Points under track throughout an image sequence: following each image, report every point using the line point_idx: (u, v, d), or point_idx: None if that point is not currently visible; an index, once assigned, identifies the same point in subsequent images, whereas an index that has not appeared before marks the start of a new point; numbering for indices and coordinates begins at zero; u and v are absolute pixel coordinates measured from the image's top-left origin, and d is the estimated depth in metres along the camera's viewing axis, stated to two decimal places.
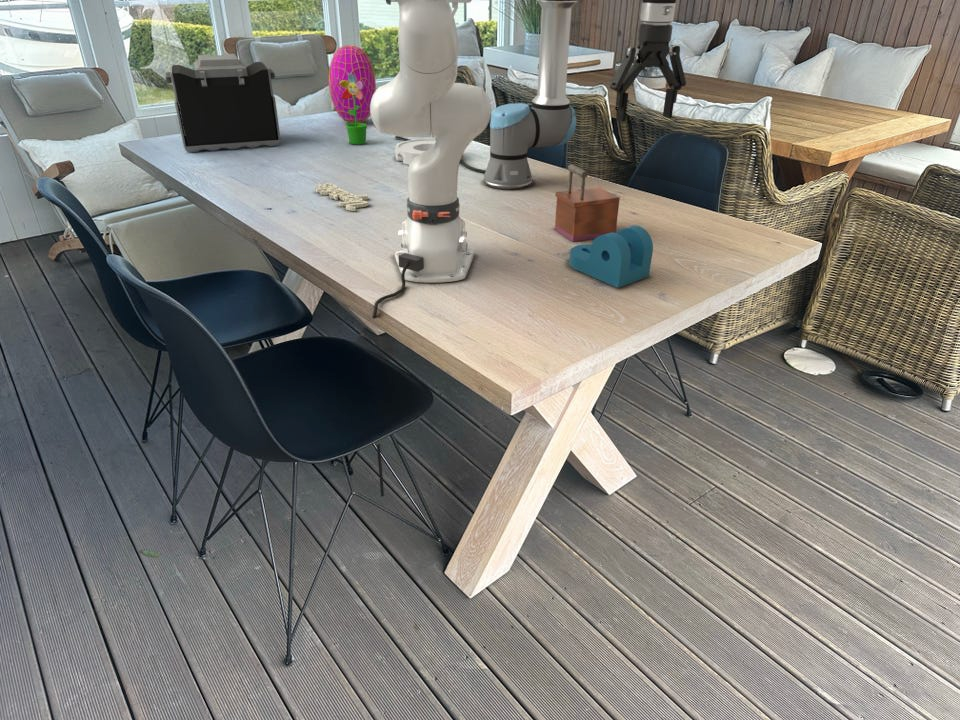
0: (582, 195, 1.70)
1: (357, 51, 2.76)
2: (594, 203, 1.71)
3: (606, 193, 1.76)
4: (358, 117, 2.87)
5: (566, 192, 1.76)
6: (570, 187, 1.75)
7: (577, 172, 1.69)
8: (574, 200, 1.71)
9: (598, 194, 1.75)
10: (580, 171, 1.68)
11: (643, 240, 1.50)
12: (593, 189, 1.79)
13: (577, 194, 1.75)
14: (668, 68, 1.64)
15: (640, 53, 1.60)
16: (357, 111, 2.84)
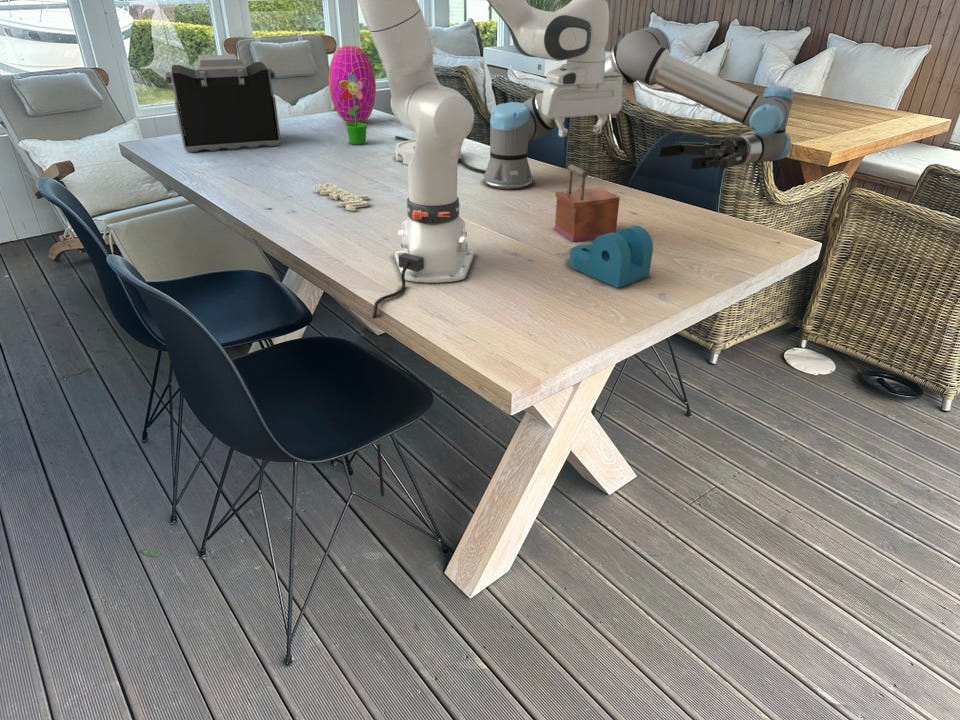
0: (582, 195, 1.70)
1: (357, 51, 2.76)
2: (594, 203, 1.71)
3: (606, 193, 1.76)
4: (358, 117, 2.87)
5: (566, 192, 1.76)
6: (570, 187, 1.75)
7: (577, 172, 1.69)
8: (574, 200, 1.71)
9: (598, 194, 1.75)
10: (580, 171, 1.68)
11: (643, 240, 1.50)
12: (593, 189, 1.79)
13: (577, 194, 1.75)
14: None
15: None
16: (357, 111, 2.84)
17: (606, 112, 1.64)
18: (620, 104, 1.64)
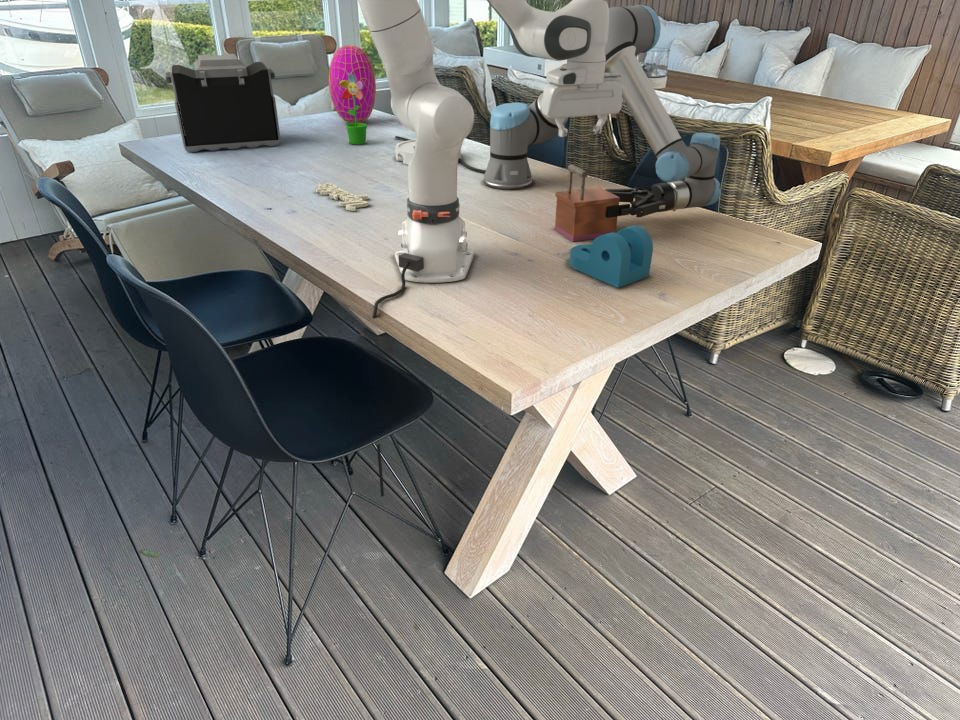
0: (582, 195, 1.70)
1: (357, 51, 2.76)
2: (594, 203, 1.71)
3: (606, 193, 1.76)
4: (358, 117, 2.87)
5: (566, 192, 1.76)
6: (570, 187, 1.75)
7: (577, 172, 1.69)
8: (574, 200, 1.71)
9: (598, 194, 1.75)
10: (580, 171, 1.68)
11: (643, 240, 1.50)
12: (593, 189, 1.79)
13: (577, 194, 1.75)
14: None
15: None
16: (357, 111, 2.84)
17: (606, 112, 1.64)
18: (620, 104, 1.64)
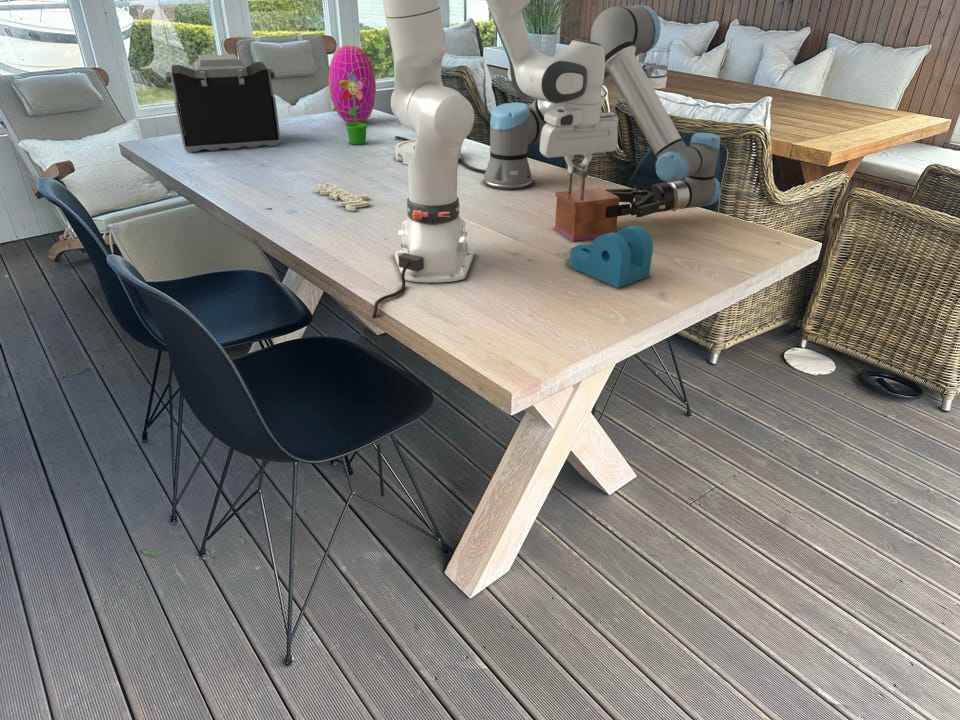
0: (582, 195, 1.70)
1: (357, 51, 2.76)
2: (594, 203, 1.71)
3: (606, 193, 1.76)
4: (358, 117, 2.87)
5: (566, 192, 1.76)
6: (570, 187, 1.75)
7: (577, 172, 1.69)
8: (574, 200, 1.71)
9: (598, 194, 1.75)
10: (580, 171, 1.68)
11: (643, 240, 1.50)
12: (593, 189, 1.79)
13: (577, 194, 1.75)
14: None
15: None
16: (357, 111, 2.84)
17: (602, 150, 1.69)
18: (616, 142, 1.69)
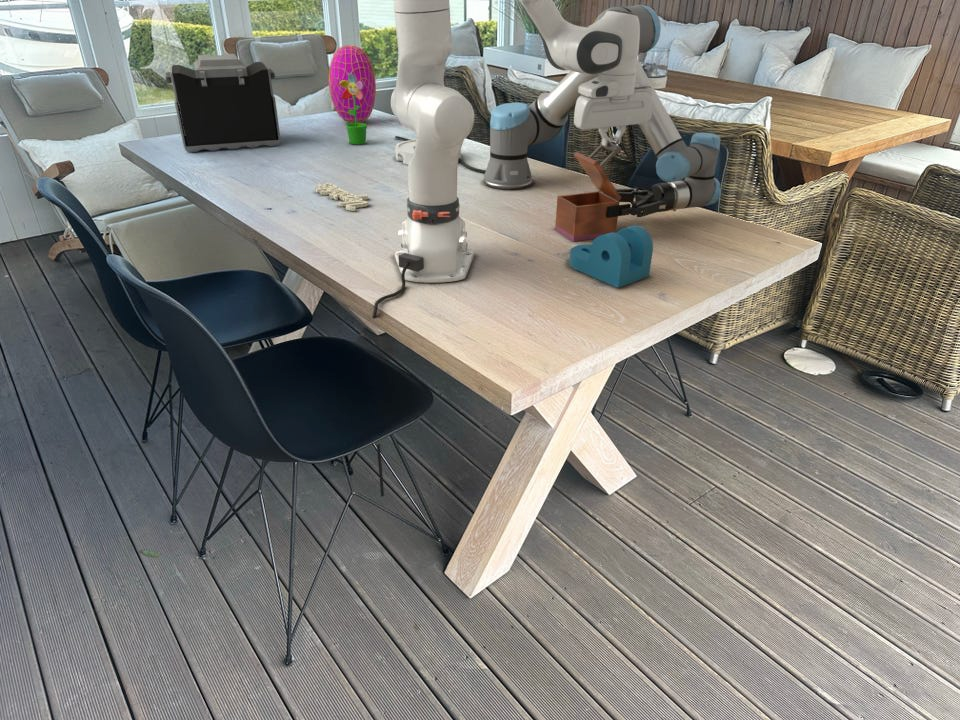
0: (603, 164, 1.68)
1: (357, 51, 2.76)
2: (605, 179, 1.69)
3: None
4: (358, 117, 2.87)
5: None
6: (590, 158, 1.73)
7: (612, 145, 1.69)
8: None
9: None
10: (616, 145, 1.69)
11: (643, 240, 1.50)
12: None
13: None
14: None
15: None
16: (357, 111, 2.84)
17: (636, 122, 1.69)
18: (649, 114, 1.69)
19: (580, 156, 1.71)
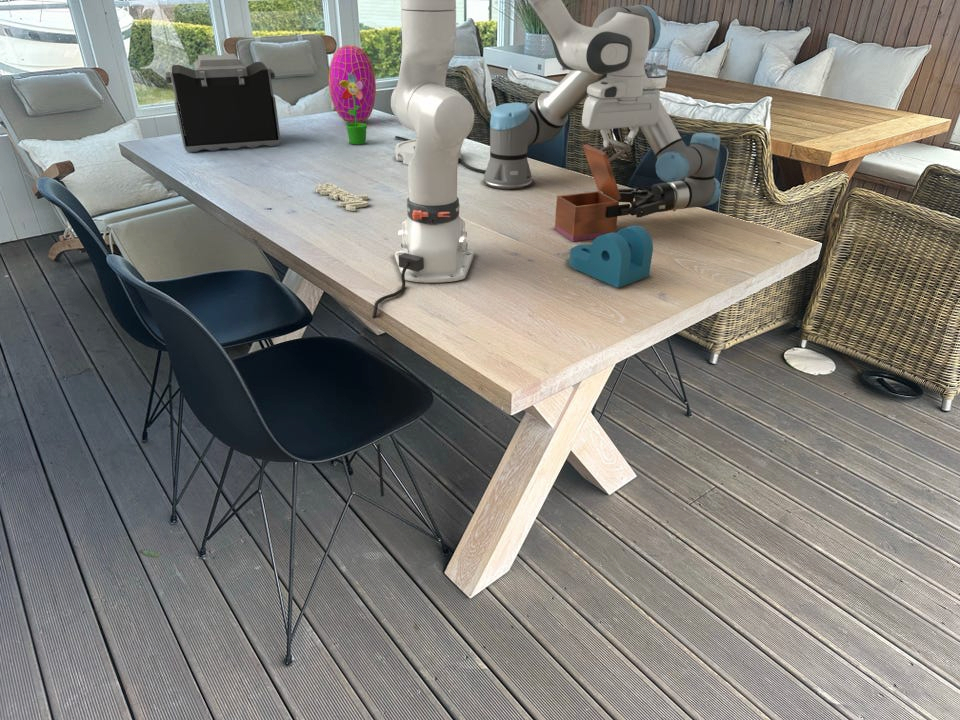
0: (611, 159, 1.69)
1: (357, 51, 2.76)
2: (610, 175, 1.69)
3: None
4: (358, 117, 2.87)
5: None
6: None
7: (622, 144, 1.70)
8: None
9: None
10: None
11: (643, 240, 1.50)
12: None
13: None
14: None
15: None
16: (357, 111, 2.84)
17: (644, 124, 1.70)
18: (657, 116, 1.70)
19: (589, 148, 1.71)
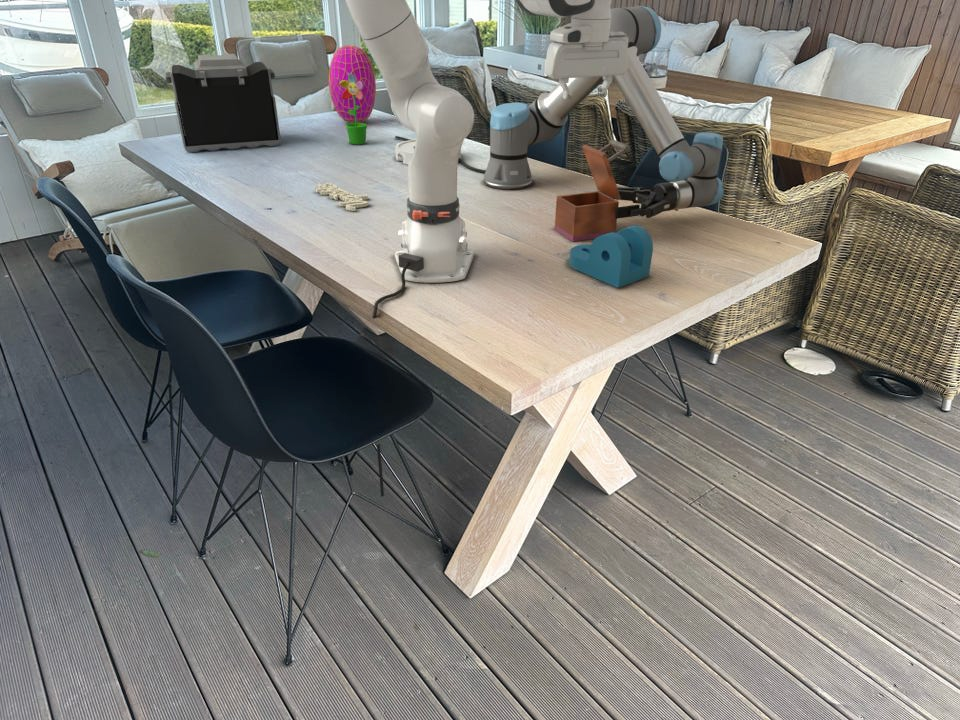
0: (610, 159, 1.69)
1: (357, 51, 2.76)
2: (610, 175, 1.69)
3: None
4: (358, 117, 2.87)
5: None
6: None
7: (622, 144, 1.70)
8: None
9: None
10: None
11: (643, 240, 1.50)
12: None
13: None
14: None
15: None
16: (357, 111, 2.84)
17: (611, 73, 1.60)
18: (625, 65, 1.60)
19: (589, 148, 1.71)
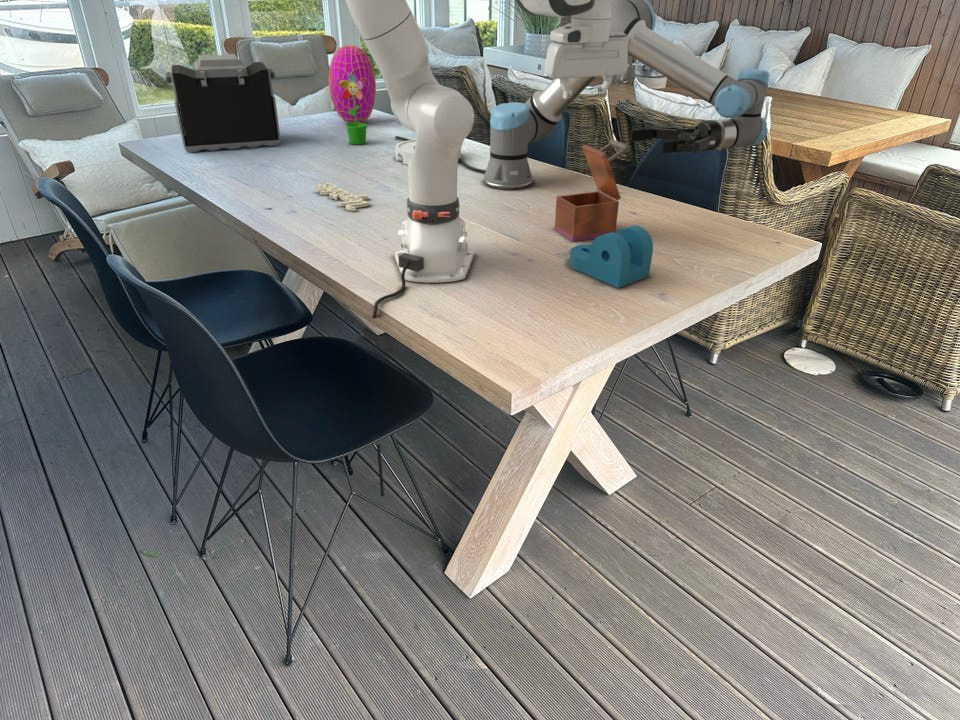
0: (610, 159, 1.69)
1: (357, 51, 2.76)
2: (610, 175, 1.69)
3: None
4: (358, 117, 2.87)
5: None
6: None
7: (622, 144, 1.70)
8: None
9: None
10: None
11: (643, 240, 1.50)
12: None
13: None
14: None
15: None
16: (357, 111, 2.84)
17: (611, 73, 1.60)
18: (625, 65, 1.60)
19: (589, 148, 1.71)
